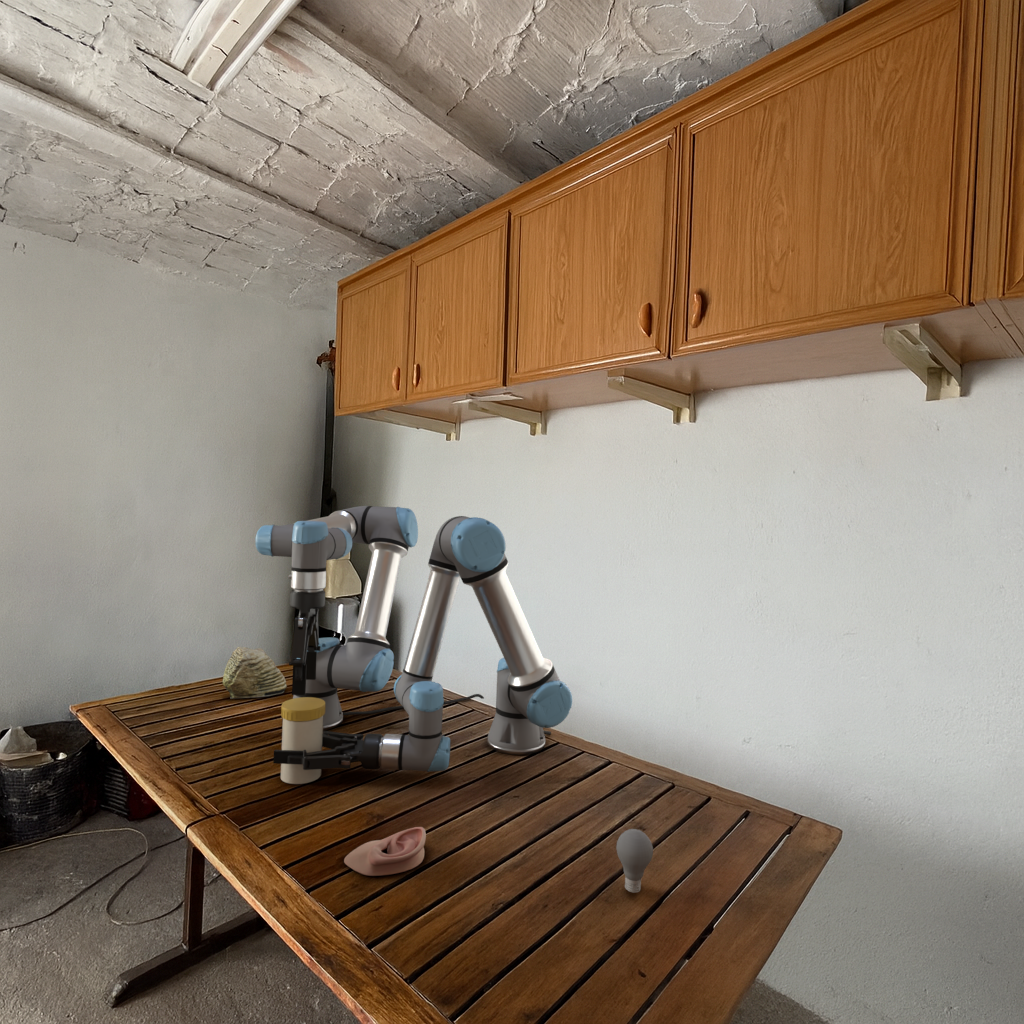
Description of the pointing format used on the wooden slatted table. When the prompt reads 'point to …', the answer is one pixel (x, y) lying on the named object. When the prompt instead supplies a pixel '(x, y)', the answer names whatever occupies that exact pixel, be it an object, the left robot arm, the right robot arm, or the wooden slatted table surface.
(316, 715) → the lid
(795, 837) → the wooden slatted table surface
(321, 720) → the jar
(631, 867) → the light bulb
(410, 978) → the wooden slatted table surface
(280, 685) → the fossil
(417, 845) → the anatomical model
